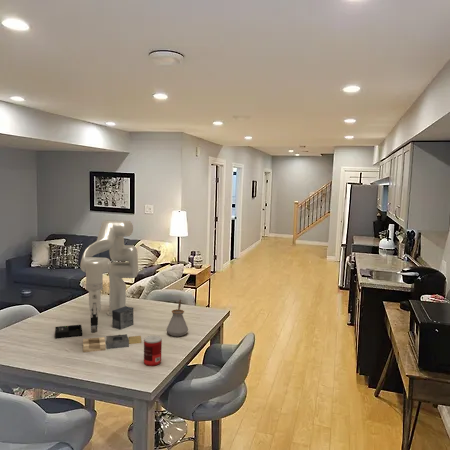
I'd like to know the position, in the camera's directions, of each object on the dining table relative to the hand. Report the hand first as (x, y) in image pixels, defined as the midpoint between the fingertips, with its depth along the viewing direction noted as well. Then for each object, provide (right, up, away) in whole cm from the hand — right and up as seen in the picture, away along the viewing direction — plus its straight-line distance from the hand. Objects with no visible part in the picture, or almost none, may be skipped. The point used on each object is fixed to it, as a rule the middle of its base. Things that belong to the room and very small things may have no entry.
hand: (94, 323), depth 197 cm
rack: (0, -12, +1) cm, 12 cm away
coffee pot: (+37, -11, +27) cm, 47 cm away
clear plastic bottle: (0, -4, 0) cm, 4 cm away
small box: (+6, -10, +31) cm, 33 cm away
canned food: (+30, -14, -13) cm, 36 cm away
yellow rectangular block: (+17, -12, +9) cm, 23 cm away
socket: (+10, -12, +6) cm, 16 cm away
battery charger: (-18, -11, +16) cm, 27 cm away
